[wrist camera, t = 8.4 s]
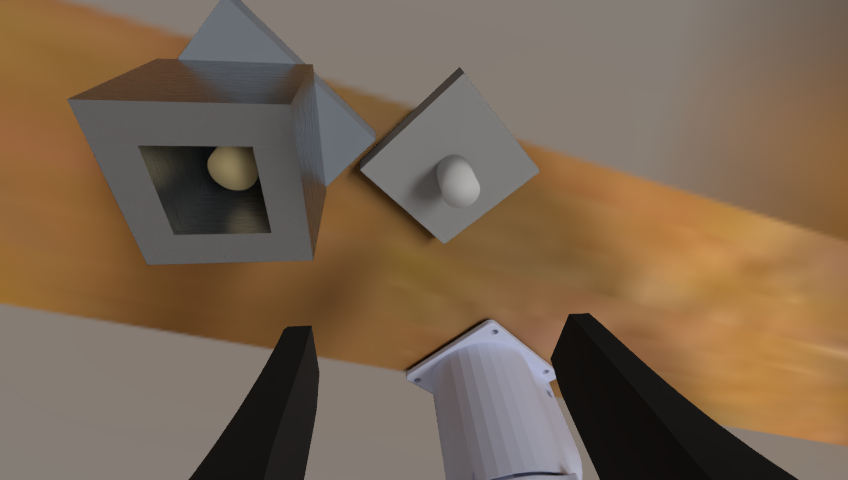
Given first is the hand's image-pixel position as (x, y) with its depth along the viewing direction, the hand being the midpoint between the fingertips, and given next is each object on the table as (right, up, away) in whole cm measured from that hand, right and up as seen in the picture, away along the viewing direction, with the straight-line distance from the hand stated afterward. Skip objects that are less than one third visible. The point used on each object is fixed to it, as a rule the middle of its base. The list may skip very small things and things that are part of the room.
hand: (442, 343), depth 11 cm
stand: (+1, +7, +8) cm, 10 cm away
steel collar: (-8, +7, +5) cm, 11 cm away
